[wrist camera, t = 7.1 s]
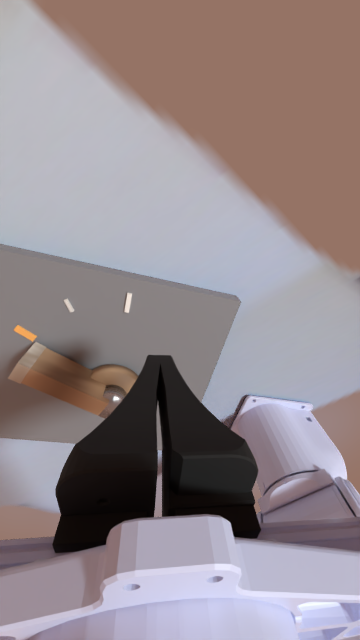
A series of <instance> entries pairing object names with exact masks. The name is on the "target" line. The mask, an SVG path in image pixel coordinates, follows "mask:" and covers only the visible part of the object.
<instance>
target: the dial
mask: <svg viewBox="0 0 360 640" xmlns="http://www.w3.org/2000/svg"><path fill="white" fill-rule="evenodd" d="M137 378H138V375H137V374H136V373H135V372H134V371H133V370H131V369H129V368H127V367H124V366H121V365H103V366H100V367H97V368H95V369H94V370H90V369H88V368H86V367H84V366H82V365H80V364H78V363H76V362H74V361H72V360H70V359H68V358H66V357H64V356H62V355H60V354H58V353H56V352H54V351H52V350H50V349H48V348H46V347H45V346H43V345H41V344H39V343H37V342H35V343H34V344H33V345H32V347H31V348H30V349H29V350H28V351H27V352H26V354H25V355H24V356H23V357H22V358H21V359H20V360H19V362H18V363H17V364H16V366H15V368H14V369H13V371H12V373H11V374H10V376H9V377H8V379H10V380H13V381H15V382H17V383H20V384H21V383H22V384H25V385H27V386H29V387H32V388H34V389H36V390H39V391H41V392H43V393H46V394H48V395H51V396H53V397H55V398H58V399H60V400H62V401H65V402H67V403H69V404H72V405H74V406H76V407H79V408H81V409H84V410H86V411H88V412H91V413H93V414H95V415H98V416H100V417H102V418H107V417H108V416H109V415H110V414H111V413H112V412H113V411H114V409H115V408H116V407H117V406H118V405H119V404H120V402H121V401H122V400H123V399H124V397H125V396H126V395H127V393H128V392H129V391H130V389H131V388H132V386H133V384H134V383H135V381H136V380H137Z"/></svg>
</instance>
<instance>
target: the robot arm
mask: <svg viewBox="0 0 360 640" xmlns="http://www.w3.org/2000/svg"><path fill="white" fill-rule="evenodd" d="M157 404H158V406H159V416H160V426H161V436H162V517H154V510H155V497H156V482H157V467H158V452H157V416H156V414H157ZM312 408H313V406H312V404H310V403H304V402H296V401H289V400H281V399H274V398H266V397H259V396H251V395H250V396H247V397H246V399H245V401H244V403H243V405H242V407H241V409H240V411H239V413H238V415H237V417H236V419H235V421H234V422H233V424H232V426H231V428H230V429H229V428H228V427H227V426H225V425H224V424H223V423H222V422H220V421H219V420H218V419H217V418H216V417H215V416H214V415H213V414H212V413H211V412H210V411H208V410H207V408H206V407H205V406H204V405H203V404H202V403H201V402H200V401H199V400H198V398H197V397H196V396H195V395H194V393H193V392H192V391H191V389H190V388H189V387H188V385H187V384H186V382H185V381H184V379H183V377H182V376H181V374H180V372H179V370H178V369H177V367H176V365H175V362H174V360H173V357H172V356H171V355H148V356H147V358H146V361H145V364H144V366H143V368H142V371H141V372H140V374H139V376H138V378H137V380H136V381H135V383H134V384H133V386H132V388H131V389H130V391H129V392H128V393H127V395H126V396H125V397H124V399H123V400H122V401H121V402H120V404H119V405H118V406H117V407H116V408H115V409H114V411H113V412H112V413H111V414H110V415H109V416H108V417H107V418H106V419H105V420H104V421H103V422H102V423H100V424H99V425H98V426H97V427H96V428H95V429H94V430H93V431H92V432H90V433H89V434H88V435H87V436H85V437H84V438H83V439H82V440H80V441H79V442H78V443H77V444H76V445H75V446H74V448H73V450H72V451H71V453H70V455H69V457H68V459H67V461H66V463H65V465H64V467H63V469H62V472H61V475H60V478H59V481H58V483H57V486H56V498H57V501H58V505H59V508H60V512H61V517H60V521H59V524H58V527H57V530H56V534H55V537H41V538H26V539H11V540H0V640H360V495H359V494H358V492H357V491H356V489H355V488H354V486H353V485H352V484H351V482H350V481H348V480H347V472H346V467H345V463H344V461H343V458H342V456H341V454H340V452H339V451H338V449H337V448H336V447H335V445H334V444H333V442H332V441H331V440H330V438H329V437H328V435H327V434H326V433H325V431H324V430H323V428H322V427H321V426H320V424H319V423H318V422H317V420H316V419H315V417H314V416H313V415H312V413H311V412H310V411H311V410H312ZM255 481H257V484H258V487H259V490H260V492H261V495H262V497H261V498H260V499H258V503H259V506H260V509H261V511H260V512H258V514H257V515H256V512H255V509H254V504H255V500H254V496H253V493H252V488H253V486H254V483H255Z"/></svg>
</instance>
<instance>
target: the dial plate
mask: <svg viewBox="0 0 360 640" xmlns="http://www.w3.org/2000/svg"><path fill="white" fill-rule="evenodd" d="M240 303H241V301H240V300H239V299H238V297H237V296H235V295H230V294H226V293H221V292H216V291H212V290H207V289H203V288H198V287H194V286H189V285H185V284H180V283H175V282H171V281H166V280H162V279H157V278H153V277H148V276H144V275H139V274H135V273H130V272H125V271H121V270H116V269H112V268H107V267H103V266H98V265H94V264H89V263H84V262H80V261H75V260H71V259H66V258H62V257H57V256H53V255H48V254H44V253H39V252H34V251H30V250H25V249H21V248H16V247H12V246H7V245H3V244H0V438H10V439H22V440H35V441H48V442H61V443H74V444H77V443H78V442H79V441H80V440H82V439H83V438H84V437H85V436H87V435H88V434H89V433H90V432H92V431H93V430H94V429H95V428H96V427H97V426H98V425H99V424H100V423H102V422H103V421H104V420H105V419H106V418H102V417H100V416H98V415H95V414H93V413H91V412H88V411H86V410H84V409H81V408H79V407H76V406H74V405H72V404H69V403H67V402H65V401H62V400H60V399H58V398H55V397H53V396H51V395H48V394H46V393H43V392H41V391H39V390H36V389H34V388H32V387H29V386H27V385H25V384H22V383H21V384H20V383H17V382H15V381H13V380H10V379H8V377H9V376H10V374H11V373H12V371H13V369H14V368H15V366H16V364H17V363H18V362H19V360H20V359H21V358H22V357H23V356H24V355H25V354H26V352H27V351H28V350H29V349H30V348H31V347H32V345H33V344H34V343H35V342H37V343H39V344H41V345H43V346H45V347H46V348H48V349H50V350H52V351H54V352H56V353H58V354H60V355H62V356H64V357H66V358H68V359H70V360H72V361H74V362H76V363H78V364H80V365H82V366H84V367H86V368H88V369H90V370H94V369H95V368H97V367H100V366H103V365H121V366H124V367H127V368H129V369H131V370H133V371H134V372H135V373H136V374H137V375H138V376H139V374H140V372H141V371H142V368H143V366H144V364H145V361H146V358H147V356H148V355H171V356H172V357H173V360H174V362H175V365H176V367H177V369H178V370H179V372H180V374H181V376H182V377H183V379H184V381H185V382H186V384H187V385H188V387H189V388H190V389H191V391H192V392H193V393H194V395H195V396H196V397H197V398H198V400H199V401H200V402H201V401H202V399H203V396H204V394H205V391H206V389H207V386H208V384H209V381H210V379H211V376H212V374H213V371H214V369H215V366H216V364H217V361H218V359H219V356H220V354H221V351H222V349H223V346H224V344H225V341H226V339H227V336H228V334H229V331H230V328H231V326H232V323H233V321H234V318H235V316H236V313H237V311H238V308H239V306H240ZM156 416H157V450H162V436H161V426H160V416H159V406H158V404H157V414H156Z"/></svg>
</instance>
